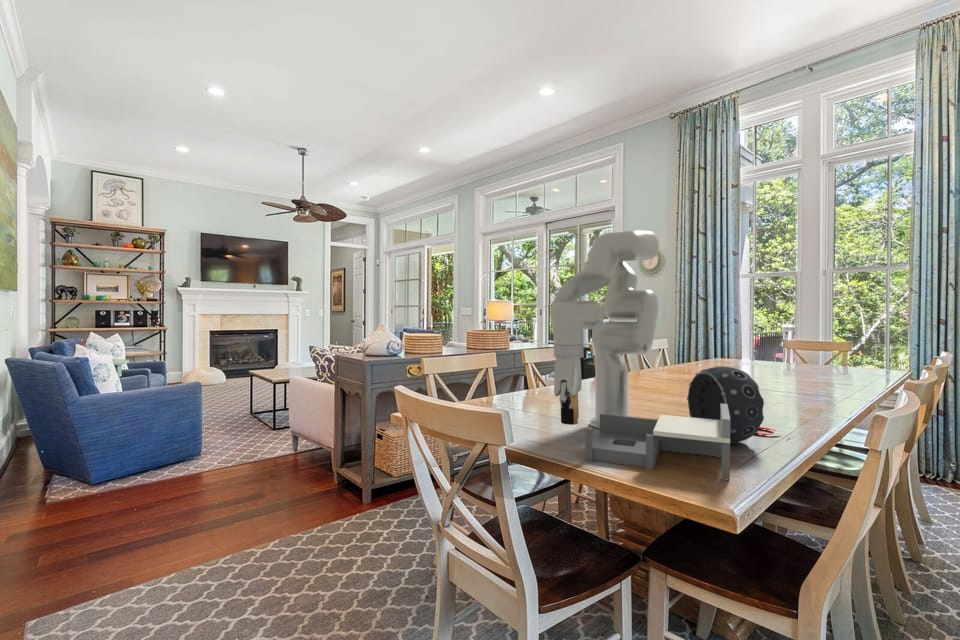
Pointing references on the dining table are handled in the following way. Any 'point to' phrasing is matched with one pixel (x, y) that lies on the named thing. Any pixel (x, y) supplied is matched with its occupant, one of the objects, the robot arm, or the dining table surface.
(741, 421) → the studded black wheel
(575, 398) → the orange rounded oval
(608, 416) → the housing
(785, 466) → the dining table surface
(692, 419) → the lid
